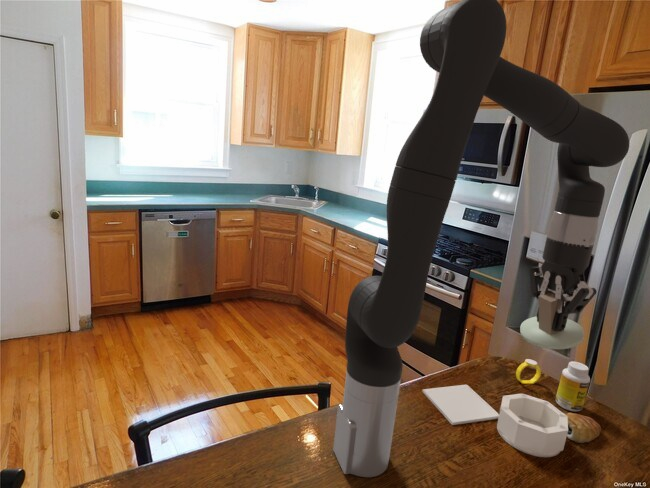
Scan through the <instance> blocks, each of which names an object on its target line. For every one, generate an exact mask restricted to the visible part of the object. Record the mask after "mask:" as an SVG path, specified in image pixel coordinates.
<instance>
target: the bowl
mask: <svg viewBox="0 0 650 488" xmlns="http://www.w3.org/2000/svg"><path fill="white" fill-rule="evenodd" d="M564 413H565V412H562V410H559V409H558V408H557V407H556V406H555V405H553V404H552V403H551V402H549V401H547V400H545V399H544V400H543V399H541V398H538V397H534V396H532V395H528V394H525V393H515V394H508V395H507V394H506V395H502V399H501V404H500V407H499V413H498V414H499V418H498V419H497V424H496V429H497V432H498V435H500V437H501V438H502V439H503V440H504V441H505V442H506V443H507V444H509V445H510V446H511V447H513V448H515V449H516V450H518V451H519V452H522V453H525V454H527V455H531V456H533V457H538V458H551V457H552V458H553V457H556V456H557V455H559V454H560V453H561V452H563V451H564V448H565V444H566V442H567V440H566V439H567V433H568V418H567V416H566V415H565V414H564Z"/></svg>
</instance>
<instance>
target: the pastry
mask: <svg viewBox="0 0 650 488" xmlns="http://www.w3.org/2000/svg"><path fill="white" fill-rule="evenodd" d="M563 413H564V414H565V415H566V416H567V418H568V433H567V437H566V439H569V440H570V441H573V442H575V443H580V444H584V443H590V442H591V441H593V440H595V439H596V438H598V437H599V436H600V434H601V432H602V428H601V427H602V426H601V425H600V424H599V423H598V422H597V421H596V420H595V419H593V418H592V417H590V416H586V415H582V414H579V413H575V412H574V413H573V412H572V411H570V412H567V413H565V412H563Z"/></svg>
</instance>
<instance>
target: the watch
mask: <svg viewBox="0 0 650 488" xmlns="http://www.w3.org/2000/svg"><path fill="white" fill-rule="evenodd" d="M527 367H533V368H536V370H535V371H536V373H535V374H534V376H533V377H532V378H530V379H521V374H522V371H523V370H524V369H525V368H527ZM515 371H516V372H515V377H516V380H517V381H519V382H520V383H521V384H522V385H534V384H536V383H537V382H538V381H539V379H540V378H541V376H542V375H541V374H542V370H541V366H539V365H538V362H537V361H536V360H533V359H530V358H526V359H525V360H524V362H522V363H521V364H519V366H518V367H517V368H516V370H515Z"/></svg>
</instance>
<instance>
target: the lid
mask: <svg viewBox="0 0 650 488" xmlns="http://www.w3.org/2000/svg"><path fill="white" fill-rule="evenodd" d="M538 297H539V302H538V307H539V322H537V315H536V316H532V317H529V318H527V319H524V321H522V322H521V324H520V328H519V331H520V336H521V338H523V339H524V340H525V341H526V342H528V343H529V344H531V345H533V346H536V347H540V348H542V349H543V348H544V349H549V350H567V349H572V348H575V347H577V346H579V345H580V344H581V343H583V342H584V339H585V330H584V328H583V327H582V325H580V324H579V323H577V322H576V321H574V320H572V319H569V318H567V322H566V327H565V328H564V329H563V330H562V331H556V332H555V331H553V330H552V329H551V328H552V324H553V320H554V316H555V312H557V311H556V306H557V301H558V300H556V299H555V293H553V292H551V293H548V294H543V295H540V296H538Z"/></svg>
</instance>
